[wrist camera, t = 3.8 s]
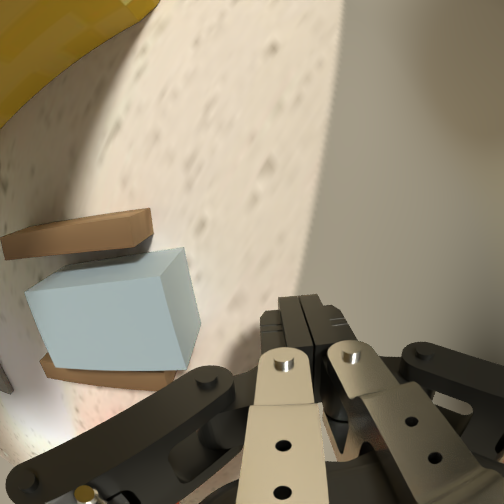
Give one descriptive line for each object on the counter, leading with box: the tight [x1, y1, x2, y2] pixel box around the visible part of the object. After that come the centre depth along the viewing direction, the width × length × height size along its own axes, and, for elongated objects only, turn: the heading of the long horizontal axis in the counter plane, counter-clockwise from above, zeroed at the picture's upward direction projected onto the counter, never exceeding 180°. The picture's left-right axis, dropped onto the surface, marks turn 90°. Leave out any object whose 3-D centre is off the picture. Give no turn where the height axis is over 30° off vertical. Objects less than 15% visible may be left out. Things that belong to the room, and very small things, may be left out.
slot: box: [0, 208, 177, 391], centre depth 13 cm, size 8×8×2 cm
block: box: [24, 247, 201, 371], centre depth 12 cm, size 4×7×4 cm, turn 98°
